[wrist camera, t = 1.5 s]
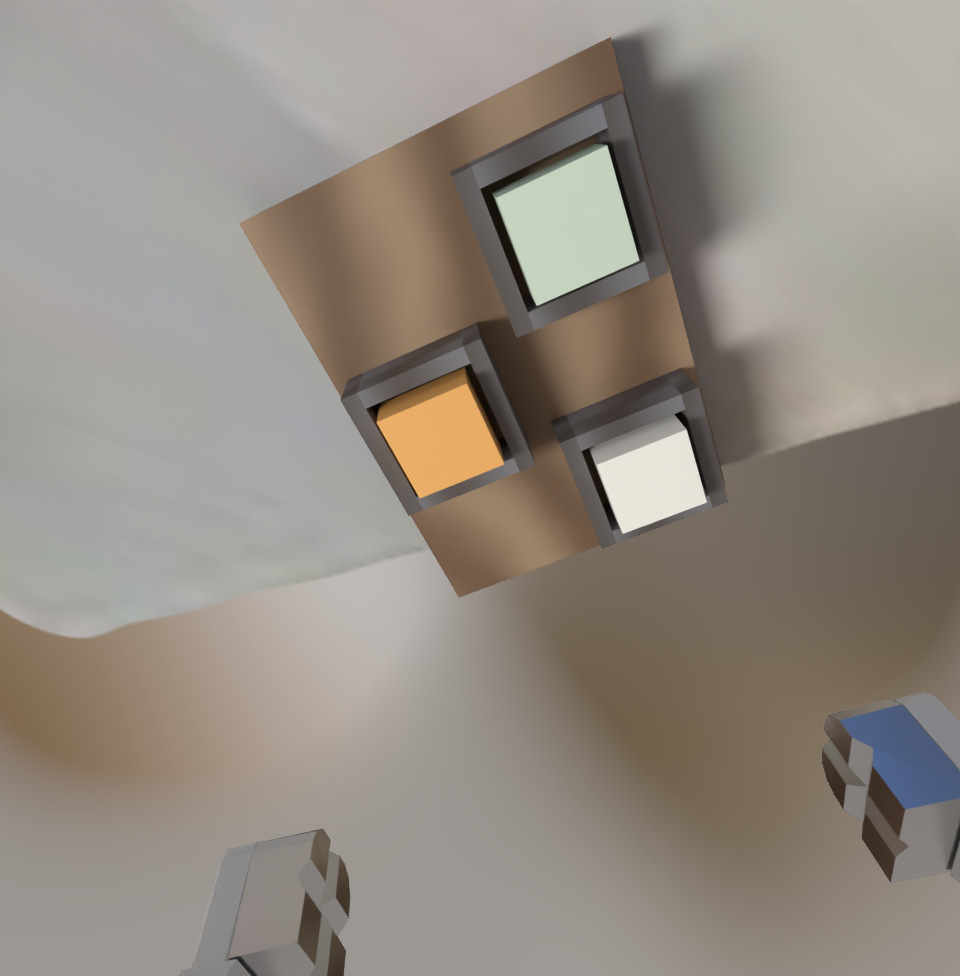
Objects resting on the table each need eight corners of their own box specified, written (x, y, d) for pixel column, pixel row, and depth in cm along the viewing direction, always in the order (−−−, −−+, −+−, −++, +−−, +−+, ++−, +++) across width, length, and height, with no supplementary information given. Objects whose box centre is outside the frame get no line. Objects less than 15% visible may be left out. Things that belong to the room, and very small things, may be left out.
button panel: (598, 43, 25) (628, 28, 21) (714, 478, 35) (748, 522, 32) (251, 217, 27) (220, 232, 23) (457, 575, 38) (460, 627, 34)
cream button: (671, 411, 29) (686, 429, 28) (691, 481, 31) (706, 502, 30) (587, 445, 30) (596, 464, 28) (612, 511, 32) (622, 533, 30)
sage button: (594, 143, 23) (607, 145, 22) (625, 251, 25) (639, 260, 24) (491, 192, 24) (496, 197, 22) (530, 293, 26) (536, 306, 24)
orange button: (464, 367, 28) (466, 383, 26) (500, 444, 30) (504, 464, 28) (380, 403, 28) (376, 422, 26) (420, 477, 30) (419, 498, 28)
